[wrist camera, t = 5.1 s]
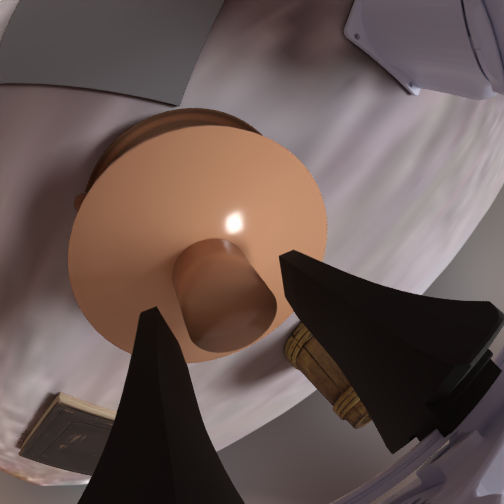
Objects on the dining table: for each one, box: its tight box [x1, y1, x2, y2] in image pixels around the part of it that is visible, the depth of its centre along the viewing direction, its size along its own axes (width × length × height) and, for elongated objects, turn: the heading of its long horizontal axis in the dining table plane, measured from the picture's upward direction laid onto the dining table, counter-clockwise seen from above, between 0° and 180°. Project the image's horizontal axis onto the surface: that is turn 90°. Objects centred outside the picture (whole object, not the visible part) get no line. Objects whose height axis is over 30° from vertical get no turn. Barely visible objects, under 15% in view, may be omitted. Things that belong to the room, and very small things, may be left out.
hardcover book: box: [19, 392, 117, 476], centre depth 24 cm, size 16×23×2 cm
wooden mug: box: [284, 322, 372, 429], centre depth 22 cm, size 9×14×18 cm, turn 122°
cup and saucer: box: [74, 108, 263, 212], centre depth 14 cm, size 12×12×6 cm
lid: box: [68, 125, 327, 363], centre depth 10 cm, size 11×11×4 cm
